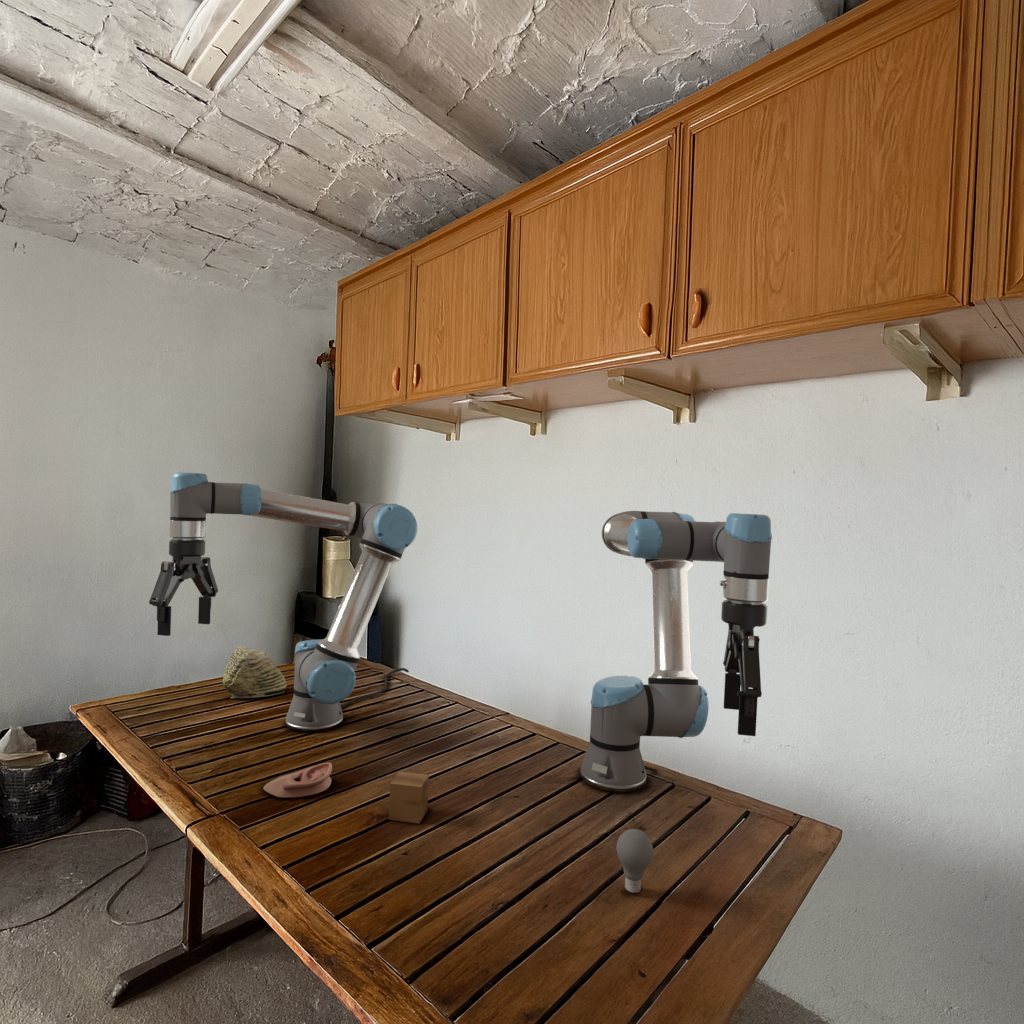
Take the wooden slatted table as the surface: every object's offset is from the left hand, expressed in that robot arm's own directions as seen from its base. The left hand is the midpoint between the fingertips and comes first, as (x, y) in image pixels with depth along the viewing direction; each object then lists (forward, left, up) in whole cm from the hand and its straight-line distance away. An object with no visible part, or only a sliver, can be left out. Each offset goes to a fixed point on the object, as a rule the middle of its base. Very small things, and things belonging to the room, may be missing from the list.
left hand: (184, 629), depth 148 cm
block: (-19, +58, -31) cm, 68 cm away
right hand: (-44, +114, -4) cm, 123 cm away
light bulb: (-28, +104, -31) cm, 112 cm away
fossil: (-37, -33, -31) cm, 58 cm away
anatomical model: (-11, +32, -31) cm, 45 cm away
